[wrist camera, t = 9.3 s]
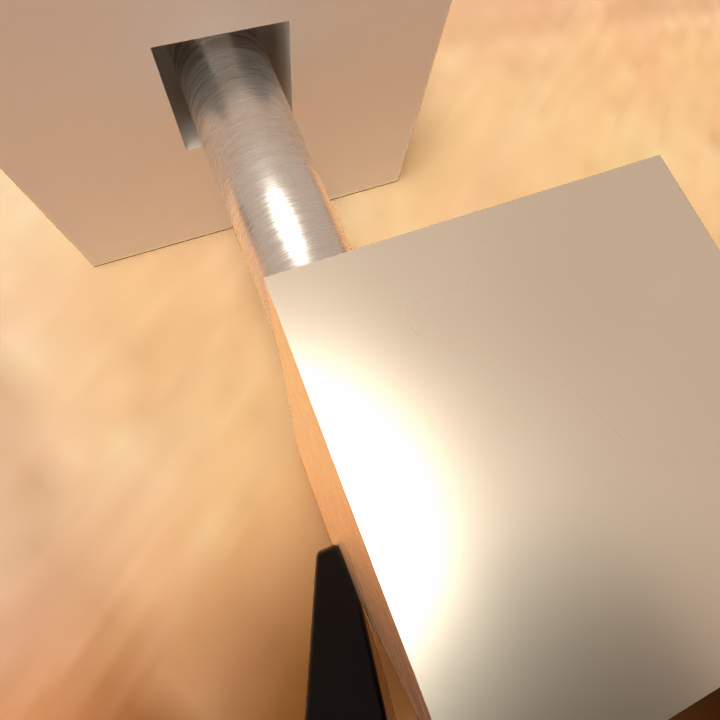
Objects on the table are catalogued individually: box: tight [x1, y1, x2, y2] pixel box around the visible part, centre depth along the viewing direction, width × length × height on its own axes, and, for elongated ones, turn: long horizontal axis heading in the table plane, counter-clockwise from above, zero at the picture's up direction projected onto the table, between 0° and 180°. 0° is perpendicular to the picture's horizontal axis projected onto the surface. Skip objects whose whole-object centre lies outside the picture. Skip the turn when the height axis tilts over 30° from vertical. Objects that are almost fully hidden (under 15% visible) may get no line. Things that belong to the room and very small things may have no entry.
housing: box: [0, 0, 452, 266], centre depth 14 cm, size 6×12×10 cm, turn 112°
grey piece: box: [165, 27, 720, 720], centre depth 10 cm, size 15×3×13 cm, turn 22°
